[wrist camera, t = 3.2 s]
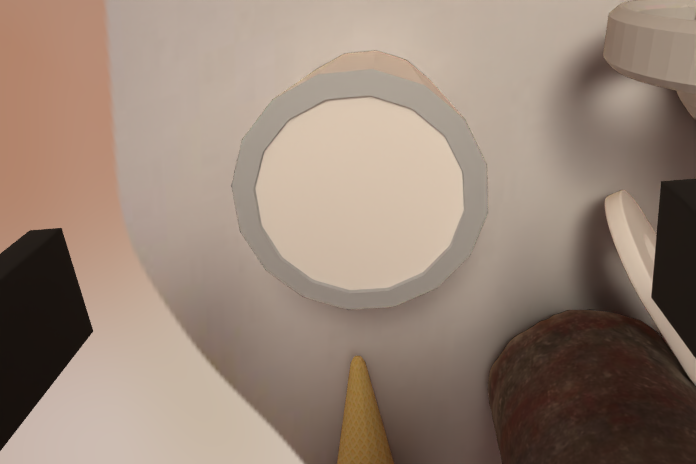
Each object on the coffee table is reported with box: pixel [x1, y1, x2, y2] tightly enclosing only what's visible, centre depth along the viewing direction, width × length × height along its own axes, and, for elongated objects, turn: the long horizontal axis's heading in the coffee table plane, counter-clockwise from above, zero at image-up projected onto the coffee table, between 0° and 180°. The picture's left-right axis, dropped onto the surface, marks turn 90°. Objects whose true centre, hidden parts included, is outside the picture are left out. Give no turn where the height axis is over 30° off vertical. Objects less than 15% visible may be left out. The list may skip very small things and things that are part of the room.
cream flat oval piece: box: [605, 190, 696, 386], centre depth 23 cm, size 8×1×5 cm, turn 36°
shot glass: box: [231, 51, 488, 310], centre depth 20 cm, size 7×7×7 cm
